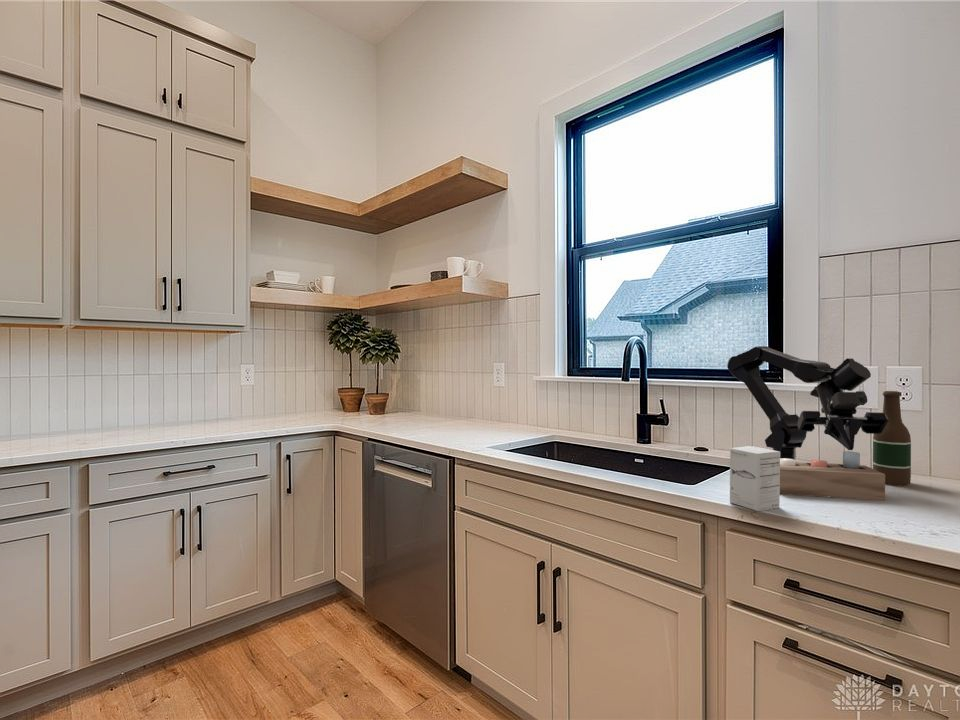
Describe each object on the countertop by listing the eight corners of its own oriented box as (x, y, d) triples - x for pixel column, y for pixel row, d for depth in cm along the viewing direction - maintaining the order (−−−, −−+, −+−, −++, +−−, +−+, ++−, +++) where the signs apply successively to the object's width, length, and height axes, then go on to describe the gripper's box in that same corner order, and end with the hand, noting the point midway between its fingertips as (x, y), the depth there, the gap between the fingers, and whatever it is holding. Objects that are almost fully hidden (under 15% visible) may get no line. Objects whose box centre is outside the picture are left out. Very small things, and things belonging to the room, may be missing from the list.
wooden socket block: (766, 483, 134) (766, 460, 134) (864, 489, 128) (865, 465, 128) (778, 493, 124) (778, 469, 124) (885, 500, 118) (885, 474, 118)
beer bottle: (873, 477, 141) (873, 389, 140) (910, 481, 136) (910, 391, 135) (872, 482, 134) (872, 391, 134) (911, 487, 130) (911, 392, 129)
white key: (777, 474, 132) (777, 457, 132) (792, 475, 131) (792, 458, 131) (781, 477, 129) (782, 460, 129) (797, 478, 128) (797, 461, 128)
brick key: (808, 475, 130) (808, 459, 130) (823, 476, 129) (824, 459, 129) (813, 478, 127) (813, 461, 127) (829, 479, 126) (829, 462, 126)
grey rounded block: (840, 467, 128) (840, 451, 128) (856, 468, 128) (856, 451, 128) (846, 470, 125) (846, 453, 125) (862, 471, 124) (862, 454, 124)
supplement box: (728, 503, 116) (728, 447, 116) (751, 499, 119) (751, 445, 119) (757, 512, 110) (757, 453, 110) (781, 508, 113) (781, 450, 113)
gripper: (801, 379, 134) (816, 427, 123) (885, 380, 129) (908, 430, 118) (791, 407, 141) (805, 454, 131) (870, 408, 137) (891, 458, 126)
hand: (851, 449), depth 126 cm, fingers closed
